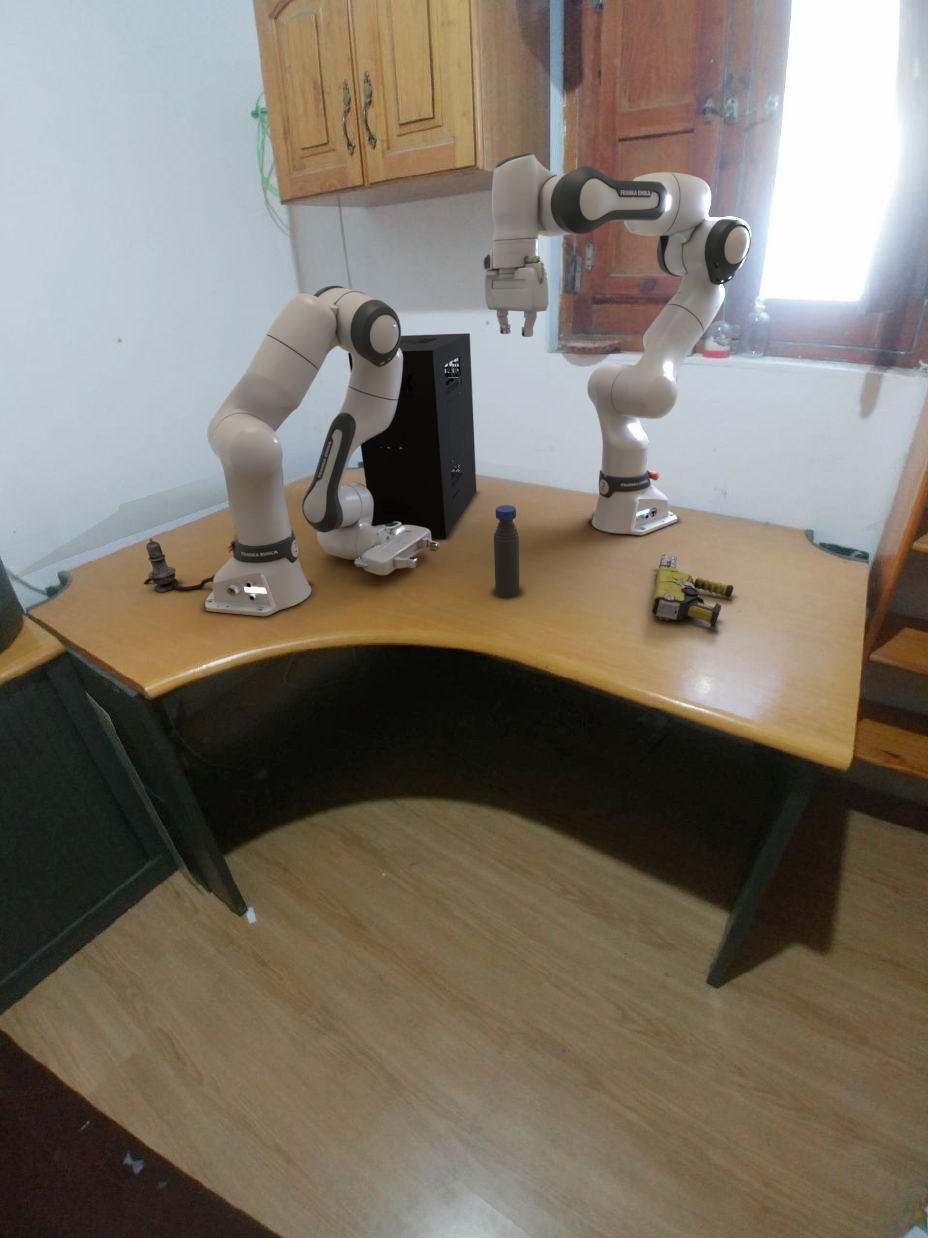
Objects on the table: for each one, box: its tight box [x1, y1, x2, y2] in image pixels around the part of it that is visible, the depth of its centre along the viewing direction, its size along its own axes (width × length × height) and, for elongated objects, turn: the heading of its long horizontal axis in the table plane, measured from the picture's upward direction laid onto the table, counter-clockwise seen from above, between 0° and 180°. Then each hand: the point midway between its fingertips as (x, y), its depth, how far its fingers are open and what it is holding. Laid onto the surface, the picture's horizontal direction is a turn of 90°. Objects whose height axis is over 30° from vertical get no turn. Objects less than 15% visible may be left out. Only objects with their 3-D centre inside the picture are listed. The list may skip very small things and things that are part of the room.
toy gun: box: [650, 553, 734, 628], centre depth 121 cm, size 5×24×15 cm
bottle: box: [493, 519, 520, 599], centre depth 125 cm, size 5×5×18 cm
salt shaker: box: [145, 538, 180, 593], centre depth 137 cm, size 6×6×12 cm
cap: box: [495, 504, 517, 521], centre depth 120 cm, size 4×4×2 cm
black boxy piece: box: [347, 332, 477, 540], centre depth 163 cm, size 38×20×45 cm, turn 167°
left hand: (427, 554), depth 135 cm, fingers open, 8 cm apart
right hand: (516, 335), depth 125 cm, fingers open, 8 cm apart
